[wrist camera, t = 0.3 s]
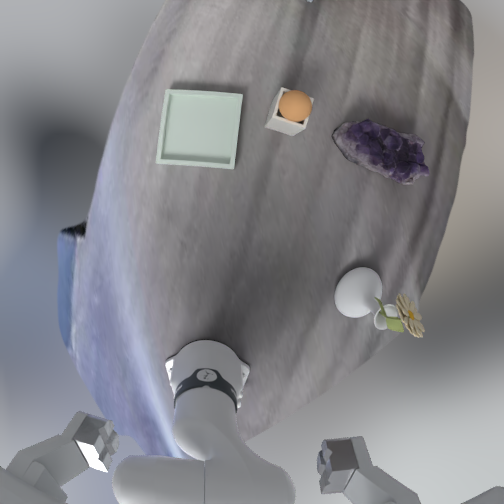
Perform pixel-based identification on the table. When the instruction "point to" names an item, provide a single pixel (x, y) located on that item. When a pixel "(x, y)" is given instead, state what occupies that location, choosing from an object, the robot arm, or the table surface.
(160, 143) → the tray
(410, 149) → the geode
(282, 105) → the ball
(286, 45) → the table surface
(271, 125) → the deep cup
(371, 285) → the flower in vase
